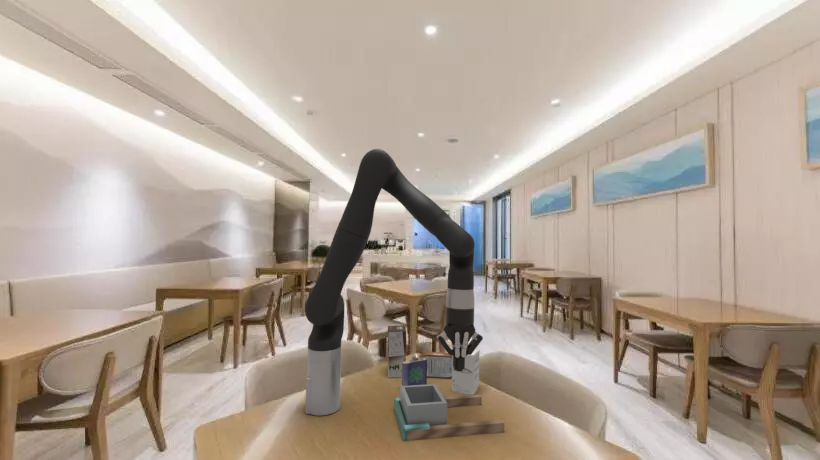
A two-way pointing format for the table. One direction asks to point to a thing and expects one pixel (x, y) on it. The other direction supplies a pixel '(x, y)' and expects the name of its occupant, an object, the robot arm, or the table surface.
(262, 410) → the table surface
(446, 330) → the robot arm
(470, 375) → the supplement box
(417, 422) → the grey storage bin
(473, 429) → the bar
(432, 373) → the tin
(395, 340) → the coffee box
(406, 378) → the flask
